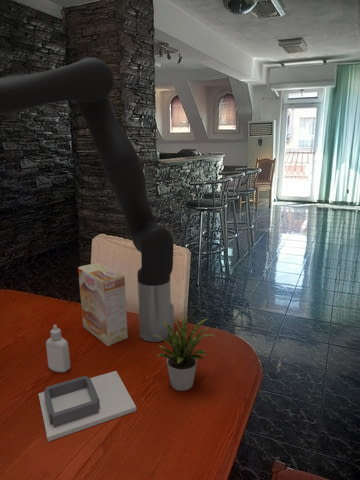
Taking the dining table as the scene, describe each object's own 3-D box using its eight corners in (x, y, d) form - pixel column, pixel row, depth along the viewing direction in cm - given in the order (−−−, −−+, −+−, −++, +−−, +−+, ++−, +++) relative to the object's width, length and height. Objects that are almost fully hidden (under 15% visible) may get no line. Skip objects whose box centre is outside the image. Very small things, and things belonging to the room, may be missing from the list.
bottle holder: (116, 374, 91) (115, 361, 90) (136, 410, 79) (135, 396, 78) (38, 397, 83) (37, 383, 82) (47, 441, 71) (45, 426, 70)
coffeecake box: (82, 326, 113) (76, 267, 108) (102, 319, 118) (98, 261, 112) (107, 347, 102) (102, 281, 97) (128, 338, 107) (125, 275, 101)
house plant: (223, 371, 91) (225, 312, 87) (209, 410, 79) (210, 342, 74) (169, 361, 96) (168, 303, 91) (148, 395, 83) (145, 330, 79)
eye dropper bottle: (55, 377, 90) (49, 333, 86) (47, 366, 94) (42, 323, 91) (72, 370, 92) (68, 327, 89) (63, 359, 97) (59, 318, 93)
